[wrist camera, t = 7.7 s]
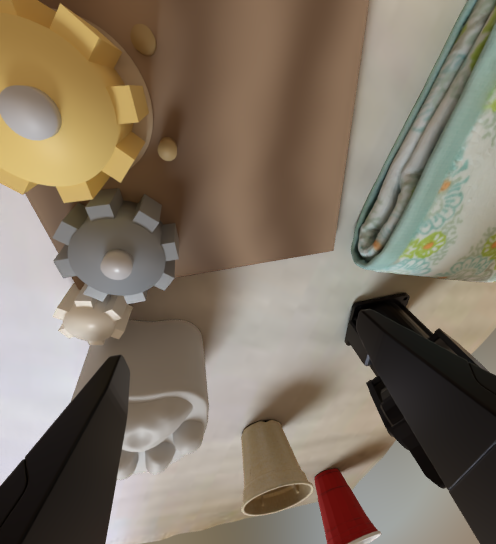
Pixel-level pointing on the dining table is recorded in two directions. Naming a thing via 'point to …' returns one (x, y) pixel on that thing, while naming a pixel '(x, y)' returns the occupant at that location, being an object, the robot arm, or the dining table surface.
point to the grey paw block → (157, 392)
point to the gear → (117, 246)
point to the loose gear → (62, 103)
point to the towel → (441, 168)
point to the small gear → (92, 316)
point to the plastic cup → (342, 511)
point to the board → (233, 122)
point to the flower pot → (270, 471)
